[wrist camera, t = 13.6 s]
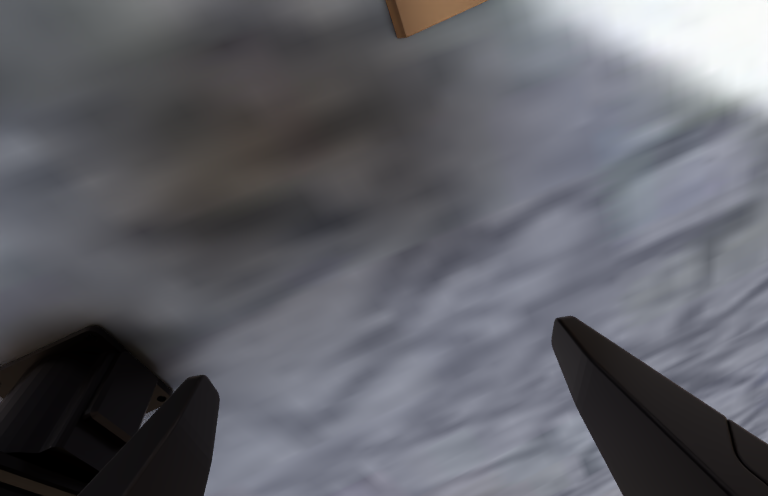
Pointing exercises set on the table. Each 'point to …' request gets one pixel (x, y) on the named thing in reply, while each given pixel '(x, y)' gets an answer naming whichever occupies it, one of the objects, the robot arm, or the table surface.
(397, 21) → the pin board
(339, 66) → the table surface
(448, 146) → the table surface
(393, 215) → the table surface
